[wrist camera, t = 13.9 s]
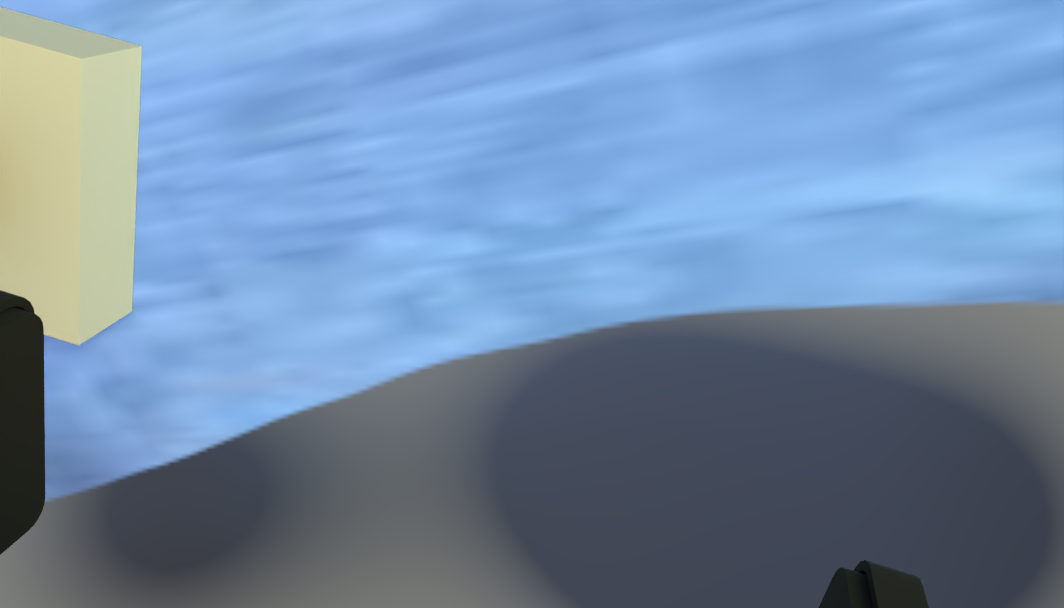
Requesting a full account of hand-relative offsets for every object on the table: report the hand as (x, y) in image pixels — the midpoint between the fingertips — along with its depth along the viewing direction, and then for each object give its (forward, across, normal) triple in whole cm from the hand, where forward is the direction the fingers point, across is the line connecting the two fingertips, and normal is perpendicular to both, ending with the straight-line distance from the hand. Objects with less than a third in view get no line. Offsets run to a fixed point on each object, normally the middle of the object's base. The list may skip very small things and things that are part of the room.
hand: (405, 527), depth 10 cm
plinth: (+28, +28, +10) cm, 41 cm away
